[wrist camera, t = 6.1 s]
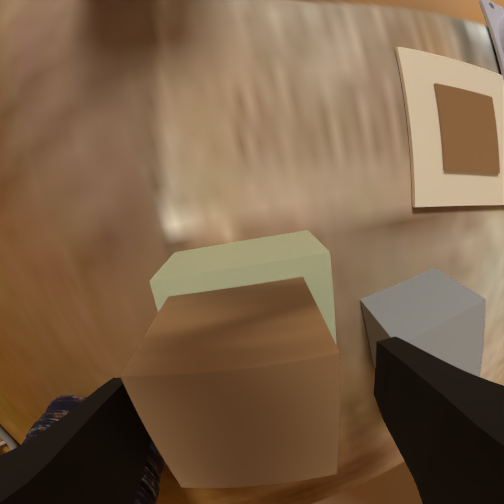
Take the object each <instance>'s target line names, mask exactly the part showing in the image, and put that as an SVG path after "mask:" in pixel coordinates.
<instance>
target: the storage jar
mask: <svg viewBox="0 0 504 504" xmlns="http://www.w3.org/2000/svg"><path fill="white" fill-rule="evenodd" d="M85 399H86V397H80V396H71V395H67V396H61V397H58V398H56V399H55V400H53V401H52V402H51V404H50V405H49V406H48V408H47V410H46V413H44V414H43V415H42V416H41V418H40V419H39V420H38V421H36V422H35V423H34V425H33V426H32V427H31V429H30V430H29V432H28V433H27V435H26V439H25V440H24V442H23V443H22V444H24V443H25V442H27V441H29V440H30V439H32V438H34V437H35V436H37V435H38V434H40V433H41V432H43V431H44V430H45V429H47V428H48V427H50V426H51V425H52V424H54V423H55V422H56V421H58V420H59V419H61V418H62V417H63V416H65V415H66V414H67V413H68V412H70V411H71V410H72V409H73V408H75V407H76V406H77V405H78V404H80V403H81V402H82V401H84V400H85ZM163 466H164V459H163V457H162V456H161V454H160V452H159V451H158V449H157V447H156V446H155V444H154V442H153V440H152V439H151V445H150V451H149V455H148V458H147V462H146V465H145V469H144V472H143V475H142V479H141V482H140V486H139V489H138V492H137V496H136V499H135V503H134V504H156V502H157V498H158V494H159V483H160V474H161V472H162V470H163Z"/></svg>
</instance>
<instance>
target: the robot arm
mask: <svg viewBox="0 0 504 504" xmlns="http://www.w3.org/2000/svg"><path fill="white" fill-rule="evenodd" d="M479 4H480V6H481V9H482V11H483V14H484V17H485V20H486V22H487V25H488V28H489V31H490V34H491V37H492V41H493V44H494V47H495V51H496V54H497V58H498V62H499V66H500V70H501V74H502V76H503V80H504V8H502V7H500V6H499V5H497V4H495V3H493V2H491V1H489V0H479ZM374 396H375V398H376V401H377V404H378V407H379V410H380V412H381V415H382V417H383V420H384V422H385V424H386V426H387V428H388V430H389V432H390V434H391V436H392V438H393V439H394V441H395V443H396V445H397V447H398V449H399V451H400V453H401V455H402V457H403V458H404V460H405V462H406V464H407V466H408V468H409V470H410V472H411V474H412V476H413V478H414V481H415V483H416V485H417V488H418V490H419V494H420V497H421V499H422V503H423V504H504V386H503V385H500V384H496V383H494V382H491V381H488V380H485V379H483V378H480V377H478V376H476V375H473V374H471V373H468V372H466V371H464V370H462V369H459V368H457V367H455V366H453V365H451V364H449V363H447V362H445V361H443V360H441V359H439V358H437V357H435V356H433V355H431V354H429V353H427V352H425V351H424V350H422V349H420V348H418V347H416V346H414V345H412V344H410V343H408V342H406V341H404V340H402V339H400V338H398V337H396V336H395V337H391V338H388V339H384V340H380V341H377V342H376V368H375V385H374ZM150 445H151V437H150V435H149V433H148V431H147V430H146V428H145V426H144V424H143V422H142V420H141V418H140V417H139V415H138V413H137V411H136V409H135V407H134V405H133V403H132V401H131V399H130V397H129V394H128V392H127V390H126V388H125V386H124V384H123V382H122V379H121V378H113V379H111V380H110V381H108V382H107V383H105V384H104V385H103V386H101V387H100V388H99V389H97V390H96V391H95V392H94V393H92V394H91V395H90V396H88V397H87V398H86V399H85V400H84V401H82V402H81V403H80V404H78V405H77V406H76V407H75V408H73V409H72V410H71V411H70V412H68V413H67V414H66V415H65V416H63V417H62V418H61V419H59V420H58V421H56V422H55V423H54V424H52V425H51V426H50V427H48V428H47V429H45V430H44V431H43V432H41V433H40V434H38V435H37V436H35V437H34V438H32V439H30V440H29V441H27V442H25V443H24V444H22V445H20V446H18V447H17V448H15V449H13V450H11V451H9V452H7V453H4V454H2V455H0V504H134V503H135V499H136V496H137V492H138V489H139V486H140V482H141V479H142V475H143V472H144V469H145V465H146V462H147V458H148V455H149V451H150Z"/></svg>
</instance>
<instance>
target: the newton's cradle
mask: <svg viewBox="0 0 504 504" xmlns="http://www.w3.org/2000/svg"><path fill="white" fill-rule="evenodd" d="M0 437H1V438H2V439H3V441H1V442H0V446H2V445H4V444H7V445H8V446H9V448H10V450H13V449H15V448H17V447H18V445H17V443H16V441H15V440H14V439H13V438H12V436H11V435H10V434H9V433H8V432H7V431H6V430H5V429H4V428H3V427H2V426H1V425H0Z"/></svg>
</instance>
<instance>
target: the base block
mask: <svg viewBox="0 0 504 504" xmlns="http://www.w3.org/2000/svg"><path fill="white" fill-rule="evenodd" d="M297 277H303V278H304V280H305V282H306V284H307V286H308V288H309V290H310V292H311V294H312V296H313V298H314V300H315V302H316V304H317V306H318V308H319V310H320V312H321V314H322V316H323V318H324V320H325V322H326V325H327V327H328V329H329V331H330V333H331V335H332V337H333V339H334V341H335V343H336V328H335V310H334V295H333V282H332V270H331V259H330V252H329V251H328V250H327V249H326V248H325V247H324V246H323V245H322V244H321V243H320V242H319V241H318V240H317V239H316V238H315V237H314V236H313V235H312V234H311V233H310V232H309V231H308V230H306V231H300V232H294V233H288V234H281V235H275V236H269V237H263V238H257V239H251V240H245V241H239V242H233V243H227V244H221V245H215V246H209V247H203V248H197V249H191V250H186V251H180V252H175V253H174V254H173V255H172V256H171V257H170V258H169V259H168V260H167V262H166V263H165V264H164V265H163V266H162V267H161V268H160V269H159V271H158V272H157V273H156V274H155V275H154V276H153V277H152V279H151V280H150V285H151V289H152V292H153V296H154V299H155V303H156V306H157V310H158V312H159V311H160V309H161V308H162V306H163V304H164V303H165V301H166V300H167V298H168V296H175V295H183V294H190V293H198V292H205V291H212V290H219V289H226V288H233V287H240V286H246V285H253V284H260V283H266V282H272V281H279V280H285V279H291V278H297Z"/></svg>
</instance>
